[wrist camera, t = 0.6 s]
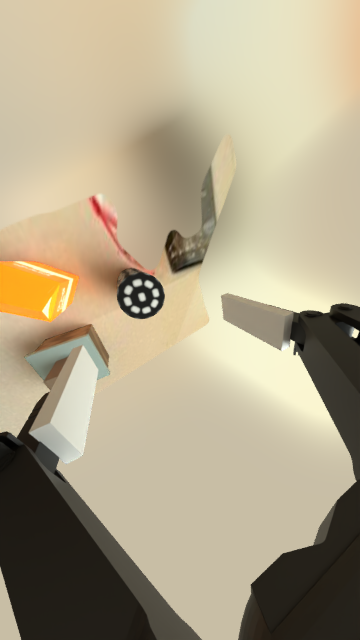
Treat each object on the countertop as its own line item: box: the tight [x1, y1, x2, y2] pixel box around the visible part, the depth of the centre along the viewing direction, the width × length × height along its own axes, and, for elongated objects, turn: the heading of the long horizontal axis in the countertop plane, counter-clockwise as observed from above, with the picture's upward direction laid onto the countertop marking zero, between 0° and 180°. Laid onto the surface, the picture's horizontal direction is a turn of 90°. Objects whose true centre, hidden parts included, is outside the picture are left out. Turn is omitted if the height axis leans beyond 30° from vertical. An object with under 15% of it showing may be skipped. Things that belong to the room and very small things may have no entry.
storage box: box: [35, 324, 109, 368], centre depth 41 cm, size 12×12×8 cm
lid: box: [24, 334, 110, 390], centre depth 34 cm, size 13×13×8 cm
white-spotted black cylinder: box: [117, 268, 165, 319], centre depth 35 cm, size 8×8×20 cm
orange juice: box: [0, 261, 79, 322], centre depth 29 cm, size 8×9×20 cm
